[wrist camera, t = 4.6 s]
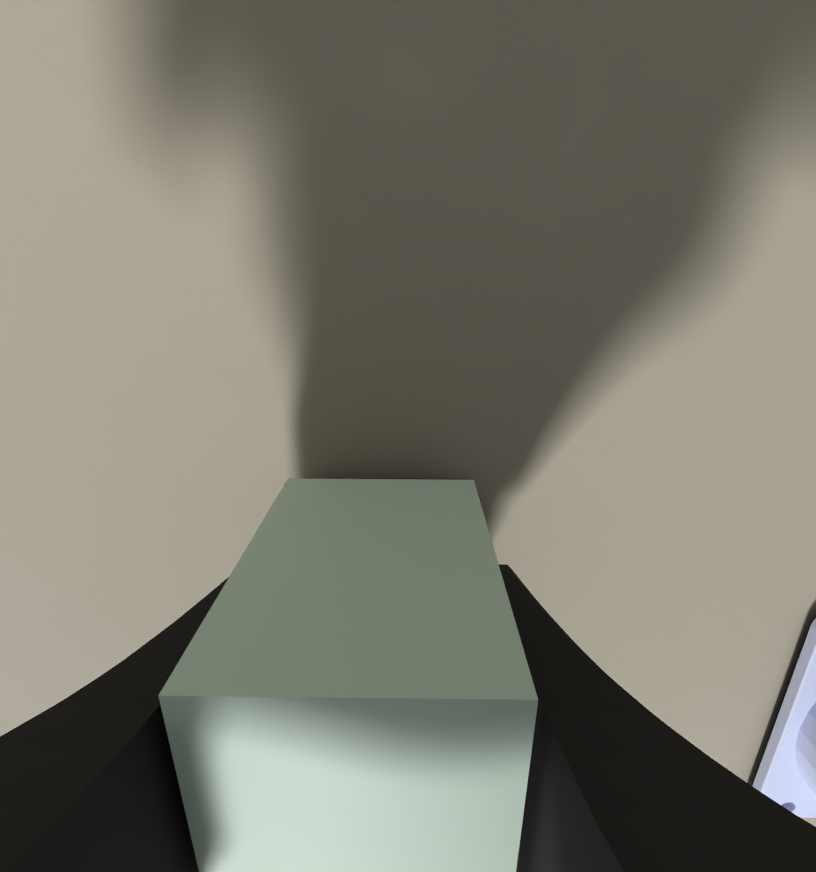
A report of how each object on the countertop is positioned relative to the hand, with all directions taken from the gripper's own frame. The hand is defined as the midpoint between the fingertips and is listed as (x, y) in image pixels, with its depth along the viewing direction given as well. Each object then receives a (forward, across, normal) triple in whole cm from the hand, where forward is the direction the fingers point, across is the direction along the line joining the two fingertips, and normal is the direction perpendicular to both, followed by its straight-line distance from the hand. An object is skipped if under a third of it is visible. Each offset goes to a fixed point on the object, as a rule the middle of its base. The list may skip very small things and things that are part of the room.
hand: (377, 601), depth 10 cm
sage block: (+2, 0, 0) cm, 2 cm away
